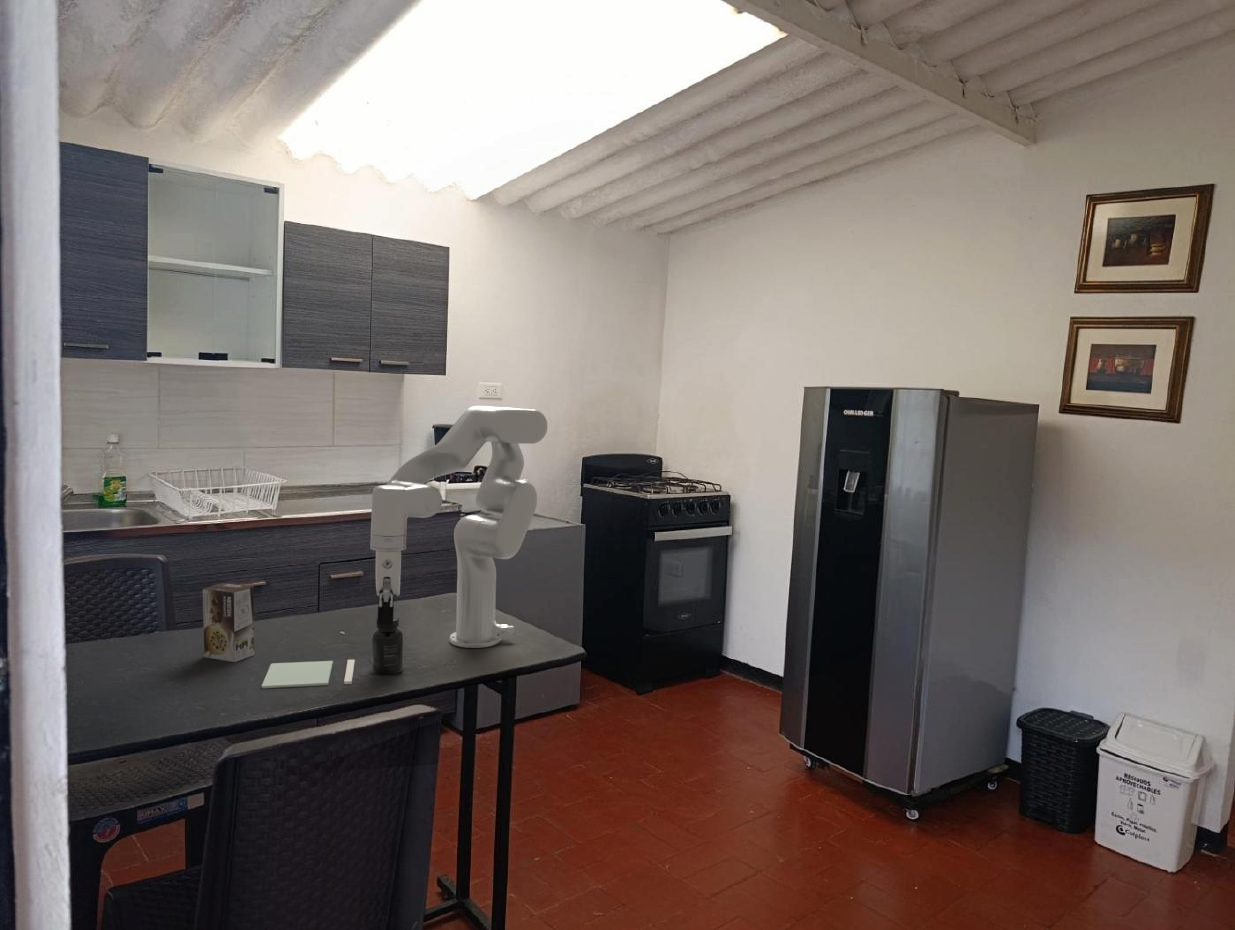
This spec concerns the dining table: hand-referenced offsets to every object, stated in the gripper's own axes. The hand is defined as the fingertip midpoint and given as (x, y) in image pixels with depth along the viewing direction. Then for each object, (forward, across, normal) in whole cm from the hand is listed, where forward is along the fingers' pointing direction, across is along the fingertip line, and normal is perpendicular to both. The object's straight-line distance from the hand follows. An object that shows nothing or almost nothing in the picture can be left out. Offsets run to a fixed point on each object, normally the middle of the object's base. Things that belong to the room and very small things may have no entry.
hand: (385, 619), depth 186 cm
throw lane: (+12, +1, +15) cm, 20 cm away
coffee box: (+13, +16, +34) cm, 40 cm away
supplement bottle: (+12, +1, -1) cm, 12 cm away
